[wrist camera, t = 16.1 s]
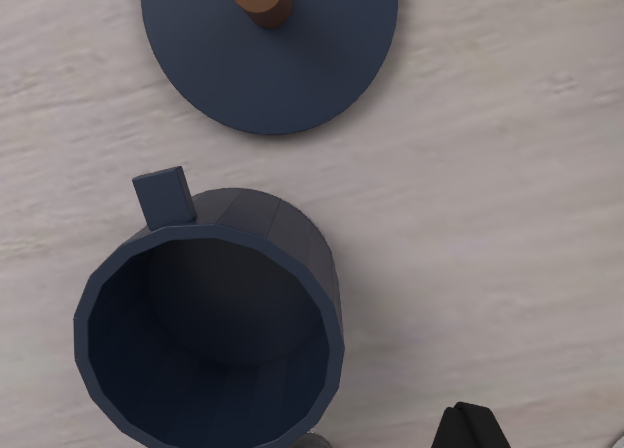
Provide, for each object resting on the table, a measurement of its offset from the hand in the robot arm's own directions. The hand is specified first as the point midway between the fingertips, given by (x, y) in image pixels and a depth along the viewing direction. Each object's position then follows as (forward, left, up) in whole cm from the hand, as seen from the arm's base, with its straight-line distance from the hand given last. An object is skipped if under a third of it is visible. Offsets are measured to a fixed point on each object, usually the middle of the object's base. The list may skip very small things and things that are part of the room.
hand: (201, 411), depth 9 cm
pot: (+2, +8, -24) cm, 25 cm away
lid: (+3, -11, -23) cm, 26 cm away
